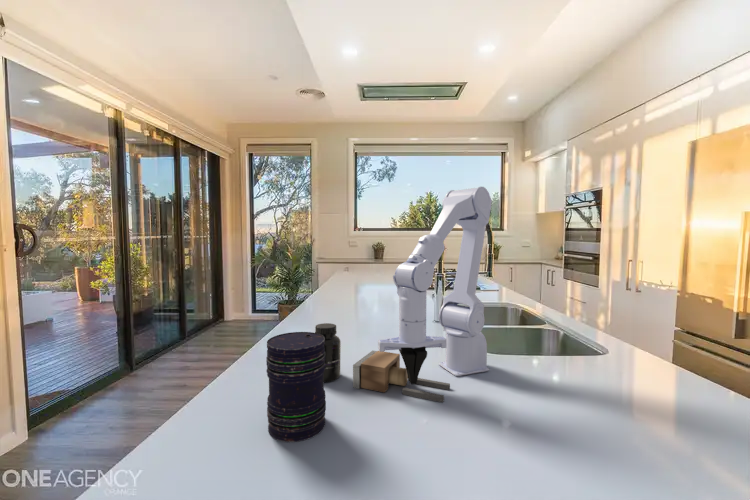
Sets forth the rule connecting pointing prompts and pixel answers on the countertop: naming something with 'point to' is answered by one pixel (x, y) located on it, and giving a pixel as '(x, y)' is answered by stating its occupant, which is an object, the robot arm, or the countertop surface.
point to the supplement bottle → (330, 350)
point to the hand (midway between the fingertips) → (412, 382)
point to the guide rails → (426, 394)
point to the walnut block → (378, 370)
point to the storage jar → (296, 386)
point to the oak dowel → (397, 376)
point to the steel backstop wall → (359, 370)
